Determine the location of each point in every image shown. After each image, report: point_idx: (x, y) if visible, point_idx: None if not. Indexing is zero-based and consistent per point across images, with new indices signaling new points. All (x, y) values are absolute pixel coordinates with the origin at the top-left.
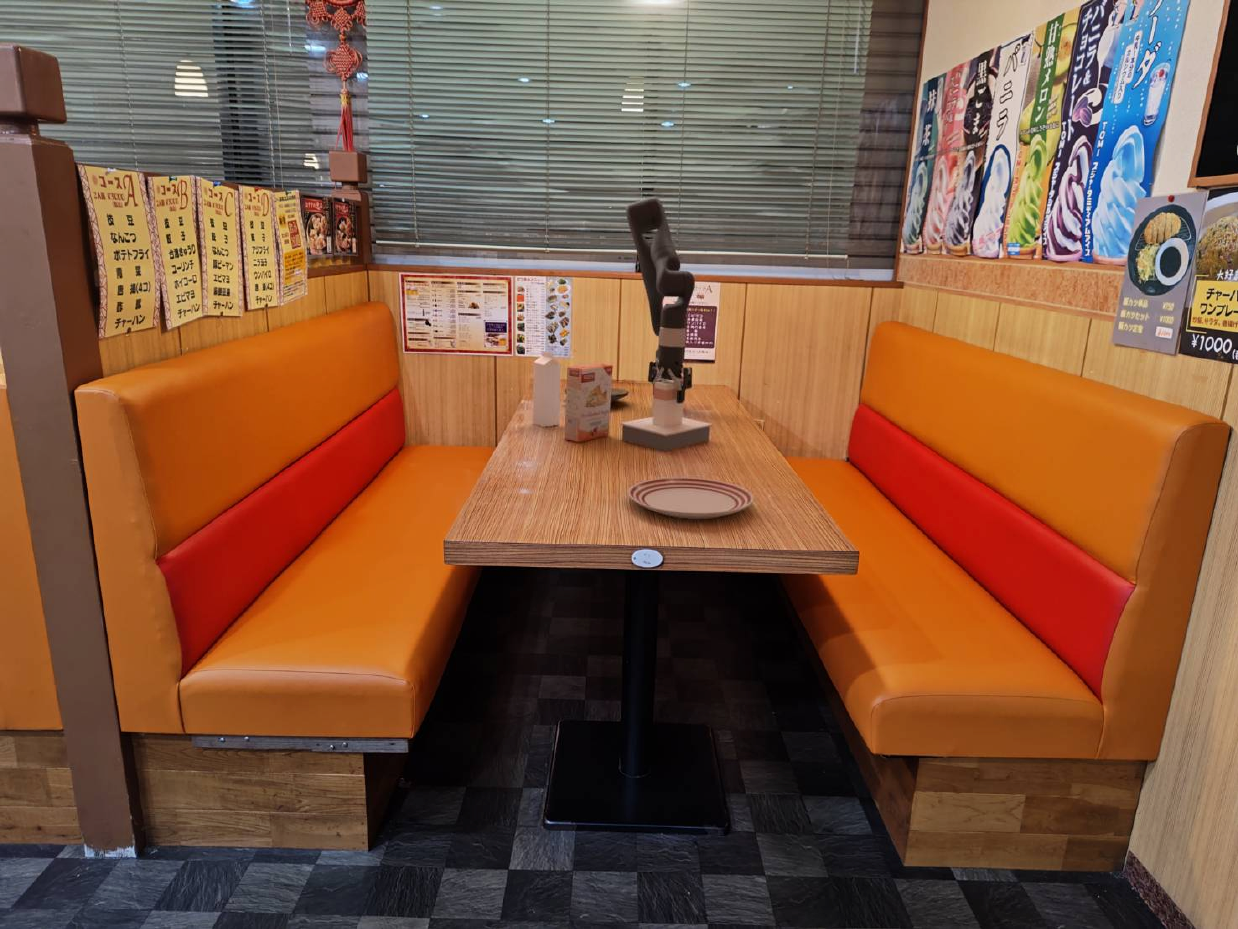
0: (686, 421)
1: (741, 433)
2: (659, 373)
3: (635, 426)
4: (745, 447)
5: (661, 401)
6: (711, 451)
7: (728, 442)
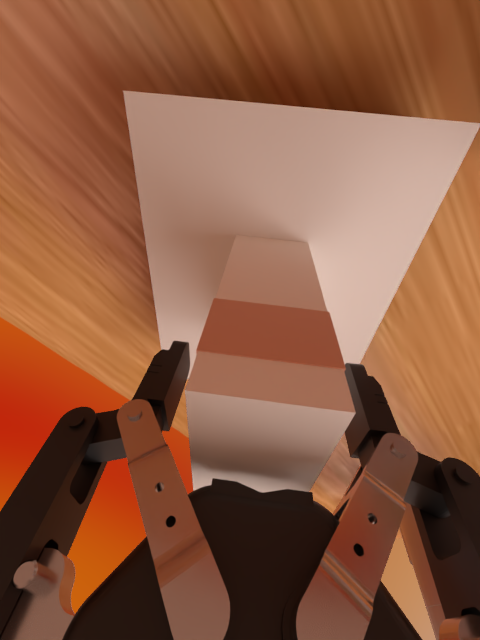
0: None
1: (187, 419)
2: (363, 554)
3: (357, 118)
4: (91, 342)
5: (255, 298)
6: (91, 251)
7: (146, 354)
